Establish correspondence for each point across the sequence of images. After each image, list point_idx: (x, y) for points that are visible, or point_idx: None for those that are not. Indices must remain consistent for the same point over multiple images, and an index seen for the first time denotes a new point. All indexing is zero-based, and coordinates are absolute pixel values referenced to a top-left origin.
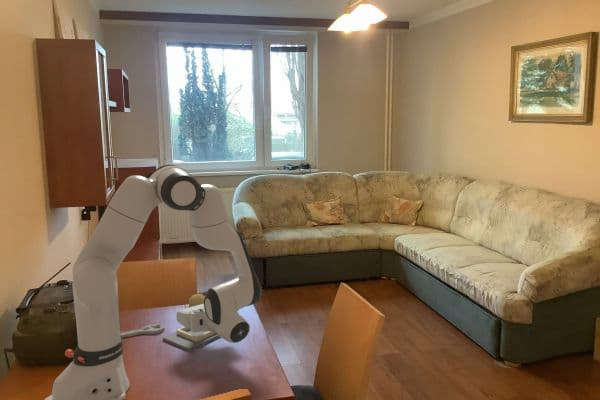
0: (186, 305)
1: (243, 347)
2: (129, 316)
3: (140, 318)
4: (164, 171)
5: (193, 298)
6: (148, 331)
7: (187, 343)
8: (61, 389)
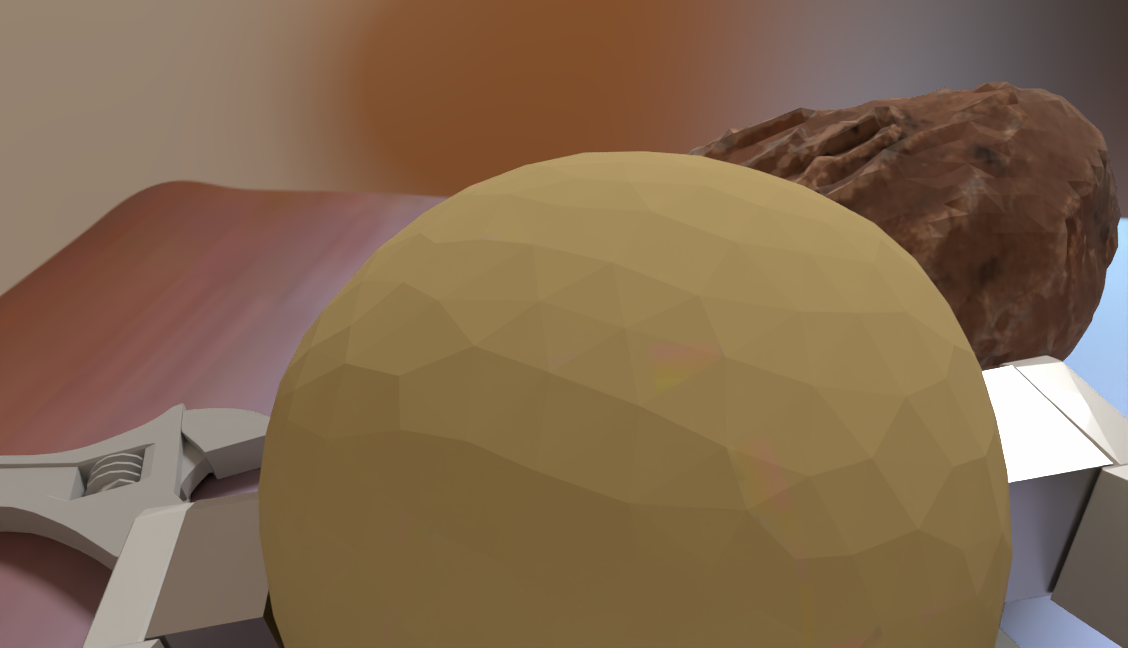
0: (142, 560)
1: None
2: (227, 242)
3: (267, 280)
4: None
5: (350, 371)
6: (79, 535)
7: None
8: None
